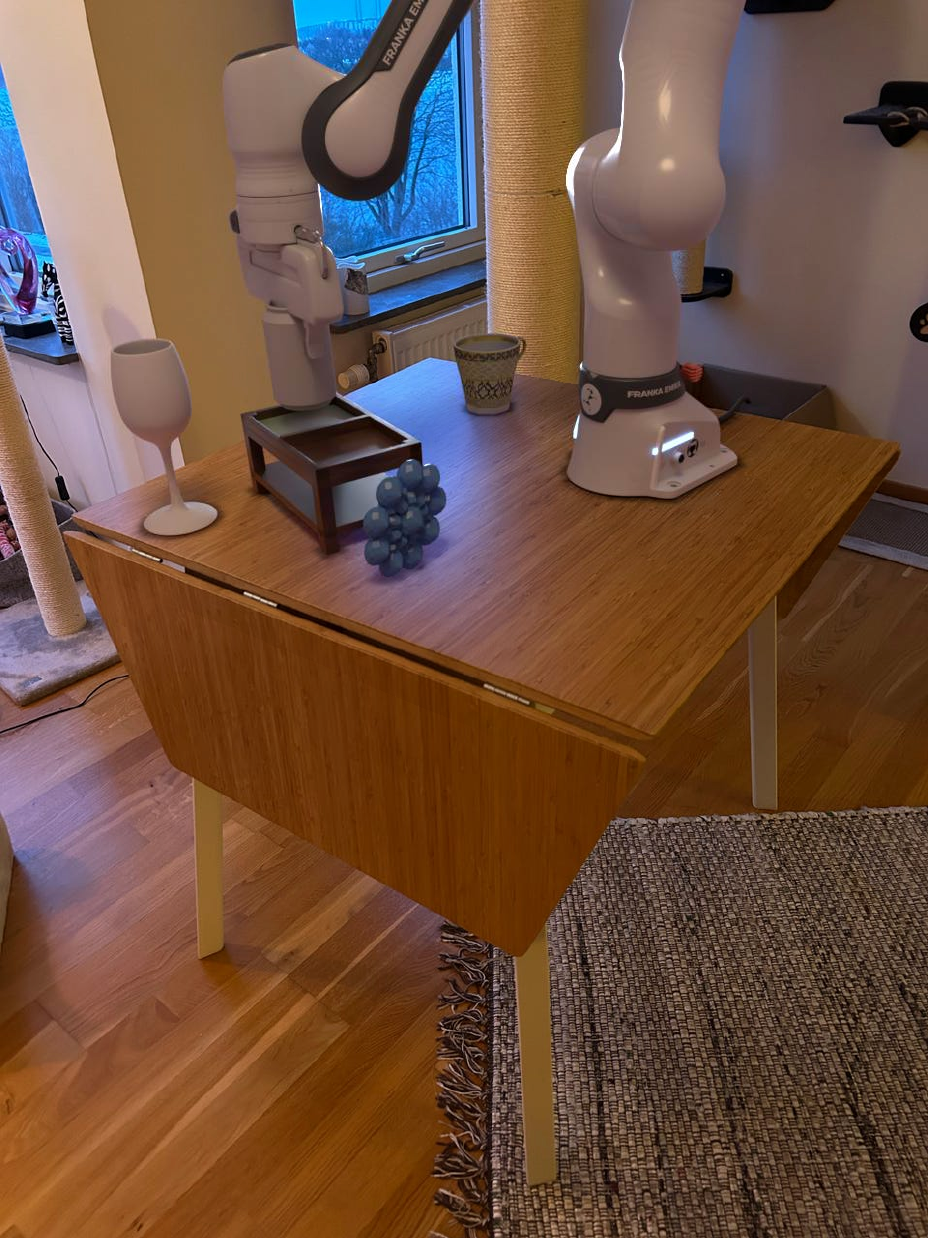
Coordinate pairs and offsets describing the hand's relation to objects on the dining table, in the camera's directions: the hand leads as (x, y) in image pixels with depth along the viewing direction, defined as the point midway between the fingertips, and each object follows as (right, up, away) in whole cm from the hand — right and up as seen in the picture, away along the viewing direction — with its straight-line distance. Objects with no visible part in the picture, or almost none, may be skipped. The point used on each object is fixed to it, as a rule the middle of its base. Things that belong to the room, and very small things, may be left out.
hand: (298, 348), depth 107 cm
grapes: (+13, -26, -7) cm, 30 cm away
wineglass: (-15, -20, +4) cm, 25 cm away
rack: (+4, -18, +6) cm, 19 cm away
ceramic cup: (+24, +1, +35) cm, 42 cm away
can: (0, -6, +4) cm, 7 cm away
